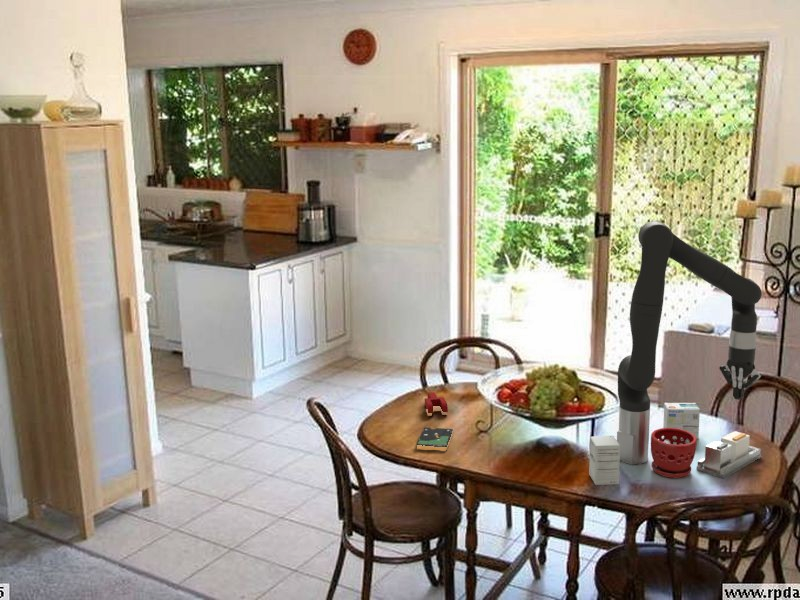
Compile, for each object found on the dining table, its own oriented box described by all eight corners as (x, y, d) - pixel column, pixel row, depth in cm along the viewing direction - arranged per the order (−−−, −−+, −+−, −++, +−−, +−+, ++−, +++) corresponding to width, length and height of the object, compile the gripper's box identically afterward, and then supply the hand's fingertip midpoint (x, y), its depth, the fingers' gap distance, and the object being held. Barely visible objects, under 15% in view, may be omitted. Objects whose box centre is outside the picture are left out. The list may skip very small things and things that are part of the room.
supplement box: (588, 474, 255) (589, 435, 252) (612, 473, 255) (614, 435, 252) (594, 485, 248) (595, 445, 245) (619, 484, 248) (620, 444, 245)
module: (735, 463, 257) (736, 440, 255) (719, 458, 261) (721, 436, 259) (748, 456, 262) (749, 433, 260) (733, 451, 266) (734, 429, 264)
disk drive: (423, 434, 291) (416, 451, 277) (423, 427, 290) (416, 443, 276) (453, 436, 289) (447, 453, 275) (453, 428, 288) (447, 444, 274)
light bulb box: (694, 432, 285) (695, 402, 282) (699, 439, 278) (700, 409, 276) (662, 431, 286) (663, 401, 283) (666, 439, 279) (667, 408, 277)
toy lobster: (447, 417, 305) (447, 404, 304) (428, 418, 304) (428, 405, 303) (440, 402, 321) (439, 390, 319) (421, 403, 320) (421, 391, 319)
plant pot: (642, 473, 254) (643, 436, 252) (661, 459, 264) (662, 424, 261) (683, 485, 246) (685, 447, 243) (701, 470, 255) (703, 433, 253)
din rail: (723, 478, 249) (725, 451, 247) (696, 469, 256) (697, 443, 254) (760, 457, 263) (762, 432, 261) (733, 449, 270) (735, 424, 268)
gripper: (715, 342, 255) (711, 396, 259) (757, 351, 245) (752, 407, 249) (728, 337, 260) (724, 390, 264) (769, 346, 250) (765, 401, 254)
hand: (738, 398), depth 257 cm, fingers closed
